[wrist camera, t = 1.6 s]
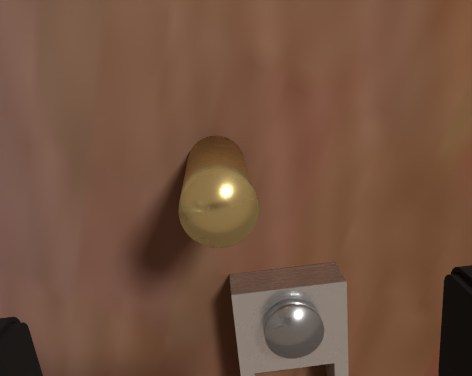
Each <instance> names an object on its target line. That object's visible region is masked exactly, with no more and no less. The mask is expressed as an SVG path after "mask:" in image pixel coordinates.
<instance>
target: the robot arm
mask: <svg viewBox="0 0 472 376" xmlns="http://www.w3.org/2000/svg"><path fill="white" fill-rule="evenodd" d="M0 376H43V375H42V371H41V368H40V365H39V361H38V358H37V355H36V351H35V348H34V345H33V341H32V338H31V334H30V331H29V328H28V326H27V324H26V323H20V321H19V319H18V318H16V317H8V318H0ZM439 376H472V265H471V266H462V267H455V268H454V269H453V270H452V272H451V274H450V275H447V276H446V277H445V280H444V292H443V308H442V325H441V341H440V357H439Z"/></svg>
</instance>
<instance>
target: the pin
mask: <svg viewBox="0 0 472 376" xmlns="http://www.w3.org/2000/svg"><path fill="white" fill-rule="evenodd" d="M178 210H179V219H180V222H181V225H182V227H183V229H184V230H185V232H186V233H187V234H188V235H189V236H190V237H191V238H192V239H193V240H195V241H196V242H198V243H200V244H202V245H204V246H208V247H213V248H224V247H229V246H232V245H235V244H237V243H239V242H241V241H242V240H244V239H245V238H246V237H247V236H248V235H249V234H250V233H251V232H252V230H253V229H254V227H255V225H256V223H257V220H258V215H259V204H258V200H257V197H256V194H255V191H254V187H253V184H252V181H251V178H250V175H249V172H248V169H247V166H246V163H245V160H244V157H243V154H242V152H241V150H240V148H239V147H238V146H237V145H236V144H235V143H234V142H233V141H232V140H230V139H228V138H225V137H222V136H210V137H206V138H204V139H202V140H200V141H199V142H197V143H196V144H195V145H194V147H193V148H192V149H191V151H190V153H189V156H188V161H187V166H186V171H185V176H184V181H183V187H182V192H181V197H180V202H179V209H178Z"/></svg>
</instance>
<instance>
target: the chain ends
mask: <svg viewBox="0 0 472 376" xmlns="http://www.w3.org/2000/svg"><path fill="white" fill-rule="evenodd" d="M229 276H230V287H231V297H232V305H233V314H234V323H235V331H236V340H237V348H238V357H239V365H240V374H241V376H255V373H261V372H269V371H277V370H285V369H293V368H301V367H308V366H316V365H324V364H325V365H326V376H348V330H347V281H346V280H345V278H344V276H343V275H342V273H341V271H340V270H339V268H338V266H337V265H336V263H335V262H330V263H322V264H313V265H305V266H297V267H288V268H280V269H271V270H263V271H254V272H246V273H238V274H229Z"/></svg>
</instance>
